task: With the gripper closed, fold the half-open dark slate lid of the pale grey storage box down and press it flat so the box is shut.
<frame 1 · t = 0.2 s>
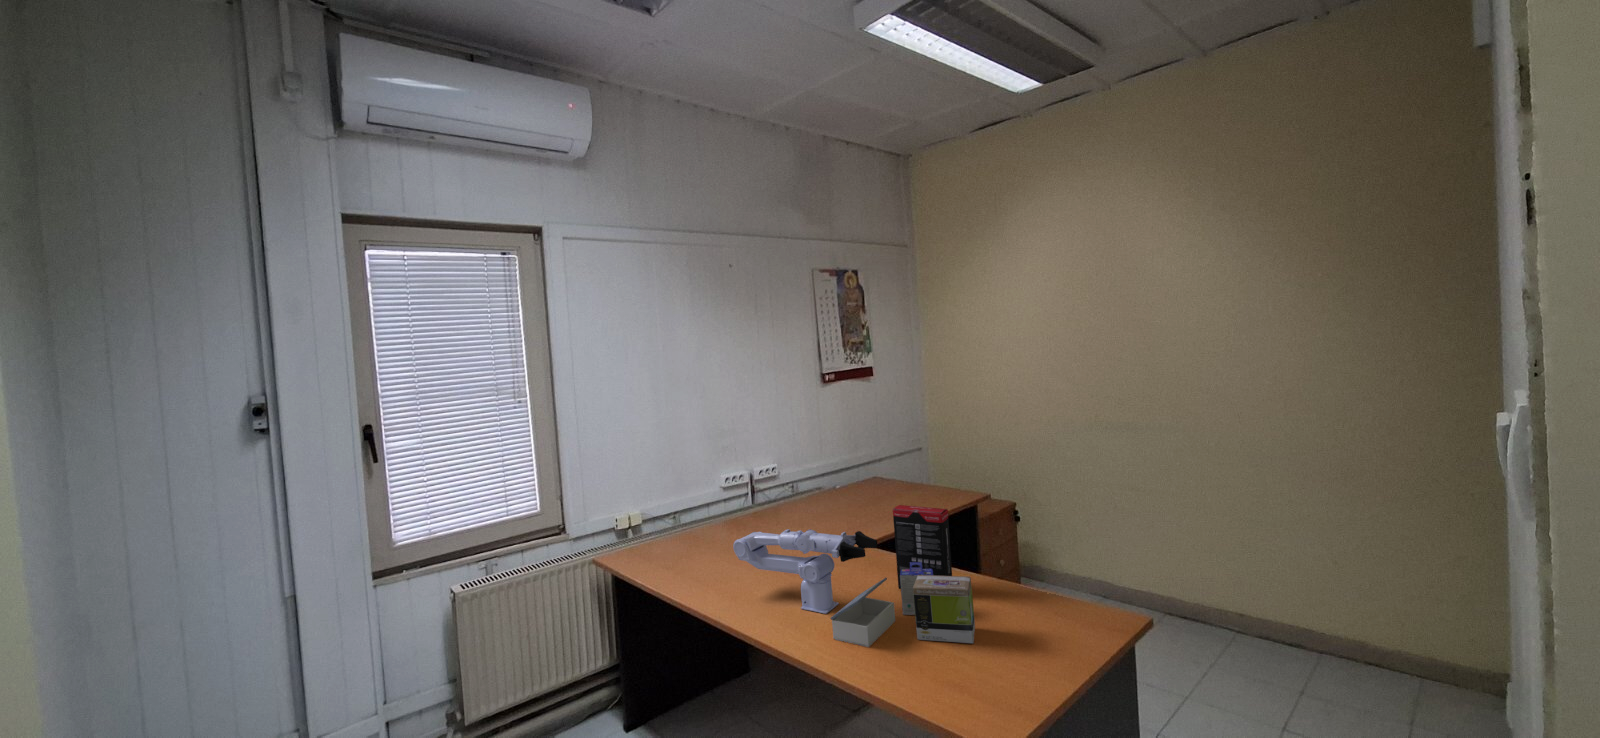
hand: (870, 548, 177), 21 cm above the table, tool horizontal, fingers open, 7 cm apart
graphics card box: (926, 591, 195), on the table
storage box: (865, 629, 172), on the table
tea box: (946, 634, 165), on the table
ink cartridge box: (919, 612, 180), on the table
box lid: (859, 597, 172), point 9 cm above the table, hinge at 35.0°
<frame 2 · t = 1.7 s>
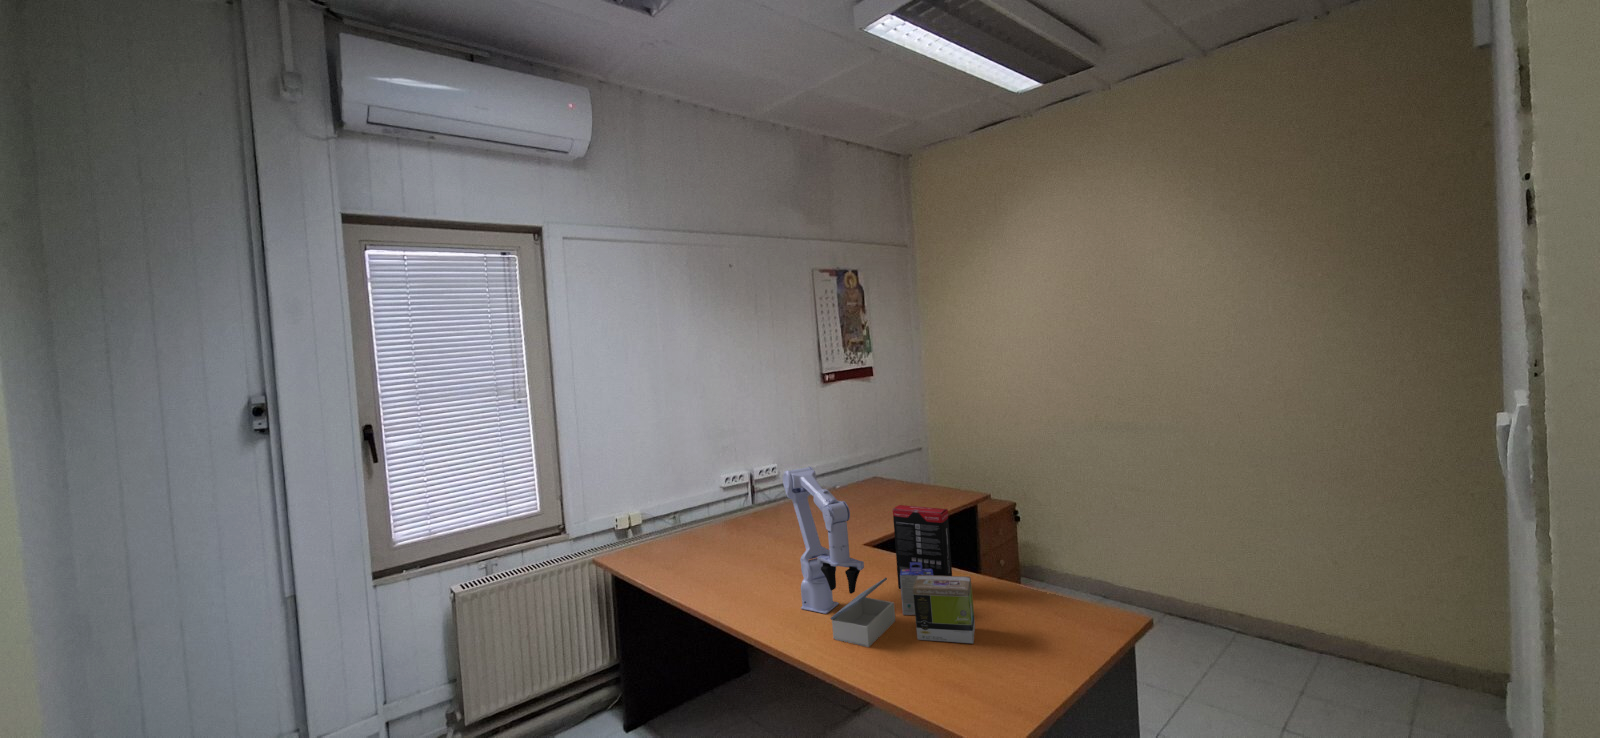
hand: (842, 590, 175), 10 cm above the table, tool pointing down, fingers open, 6 cm apart
nothing on the table moved.
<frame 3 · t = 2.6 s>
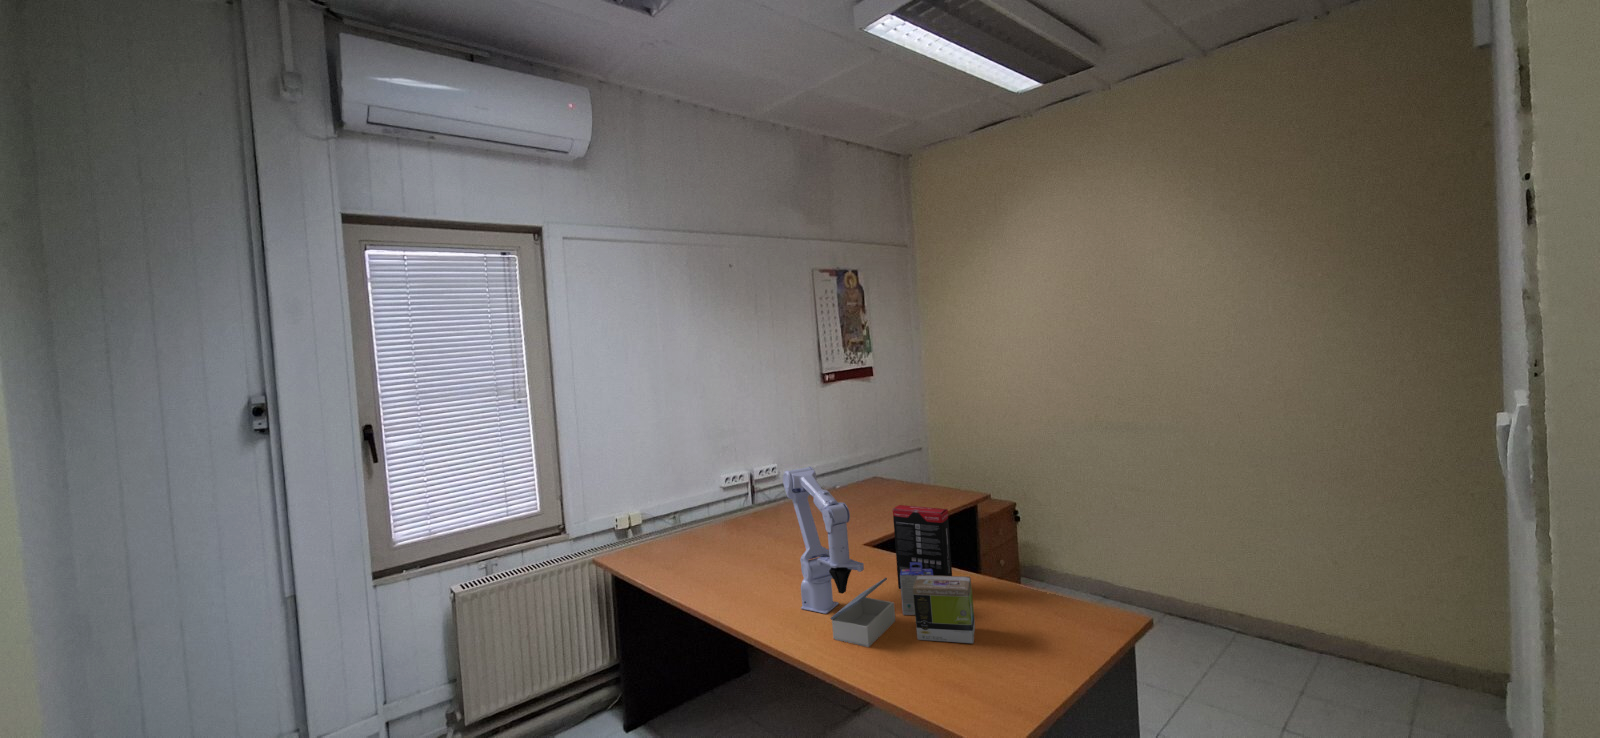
hand: (842, 592, 175), 10 cm above the table, tool pointing down, fingers closed
nothing on the table moved.
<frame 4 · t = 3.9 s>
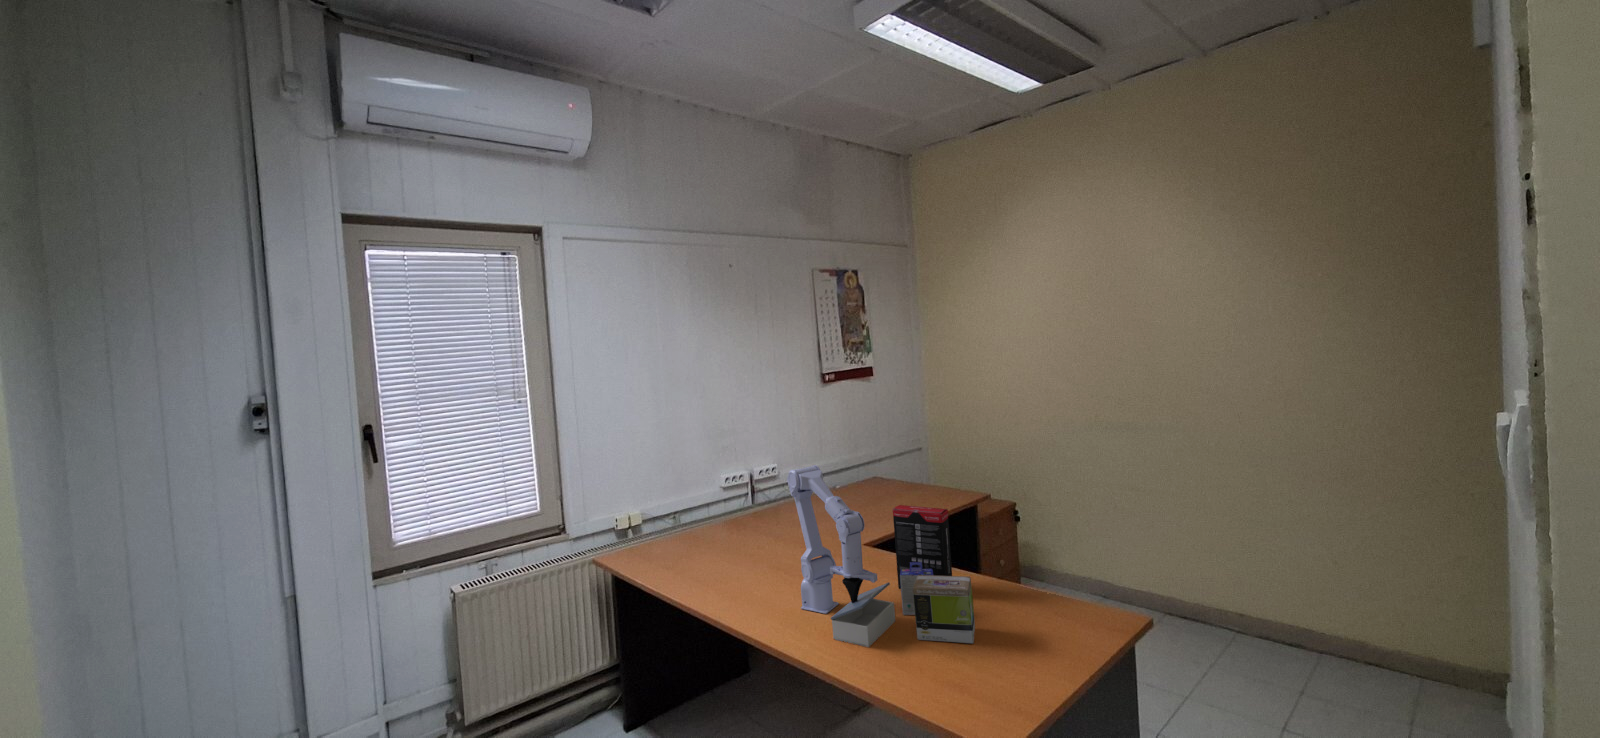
hand: (854, 602, 173), 8 cm above the table, tool pointing down, fingers closed, pressing on box lid
box lid: (860, 600, 172), point 9 cm above the table, hinge at 26.9°, touching gripper
everything else where it was.
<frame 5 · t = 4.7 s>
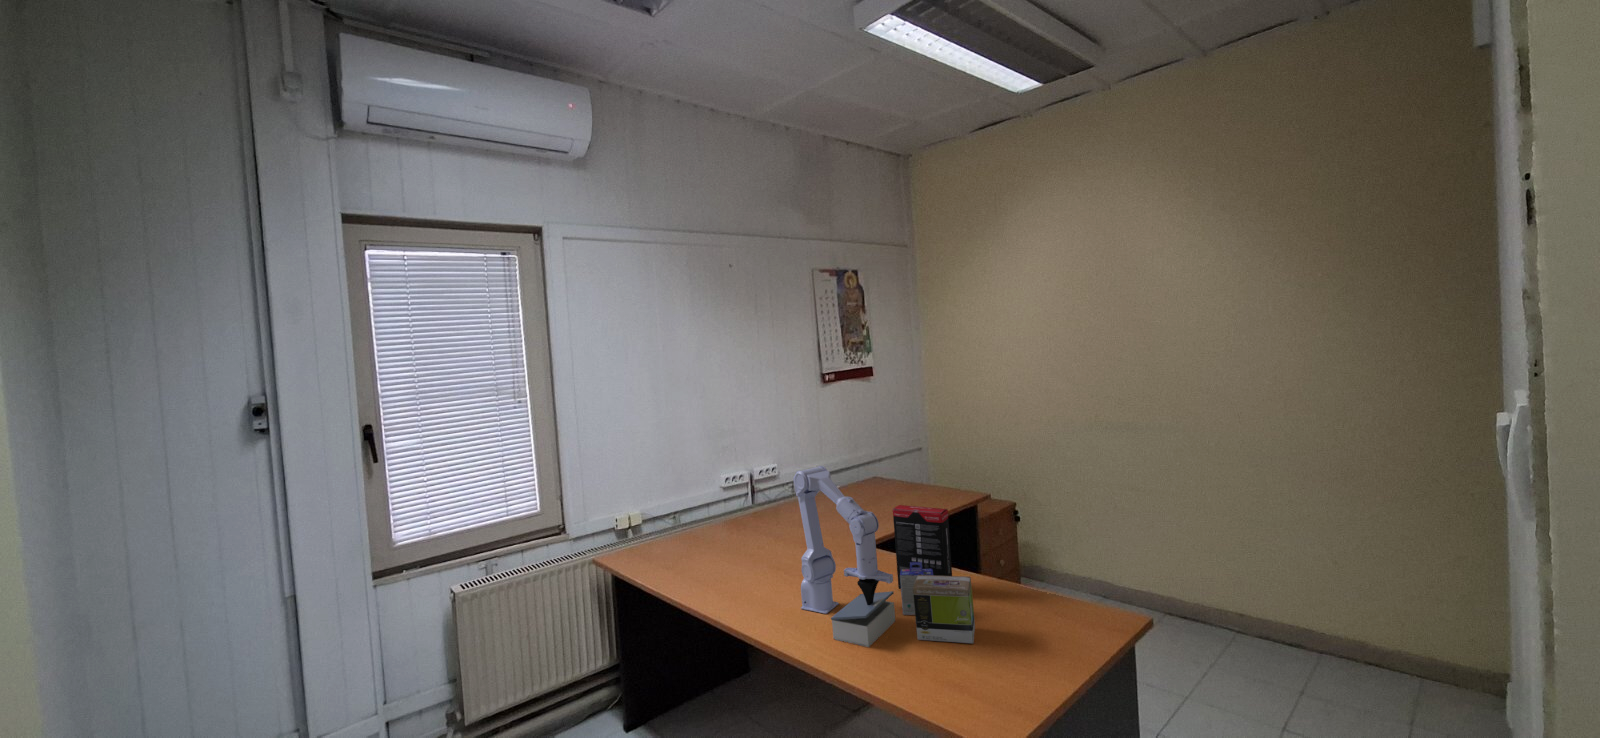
hand: (870, 604, 170), 8 cm above the table, tool pointing down, fingers closed, pressing on box lid
box lid: (862, 604, 171), point 7 cm above the table, hinge at 13.1°, touching gripper
everything else where it was.
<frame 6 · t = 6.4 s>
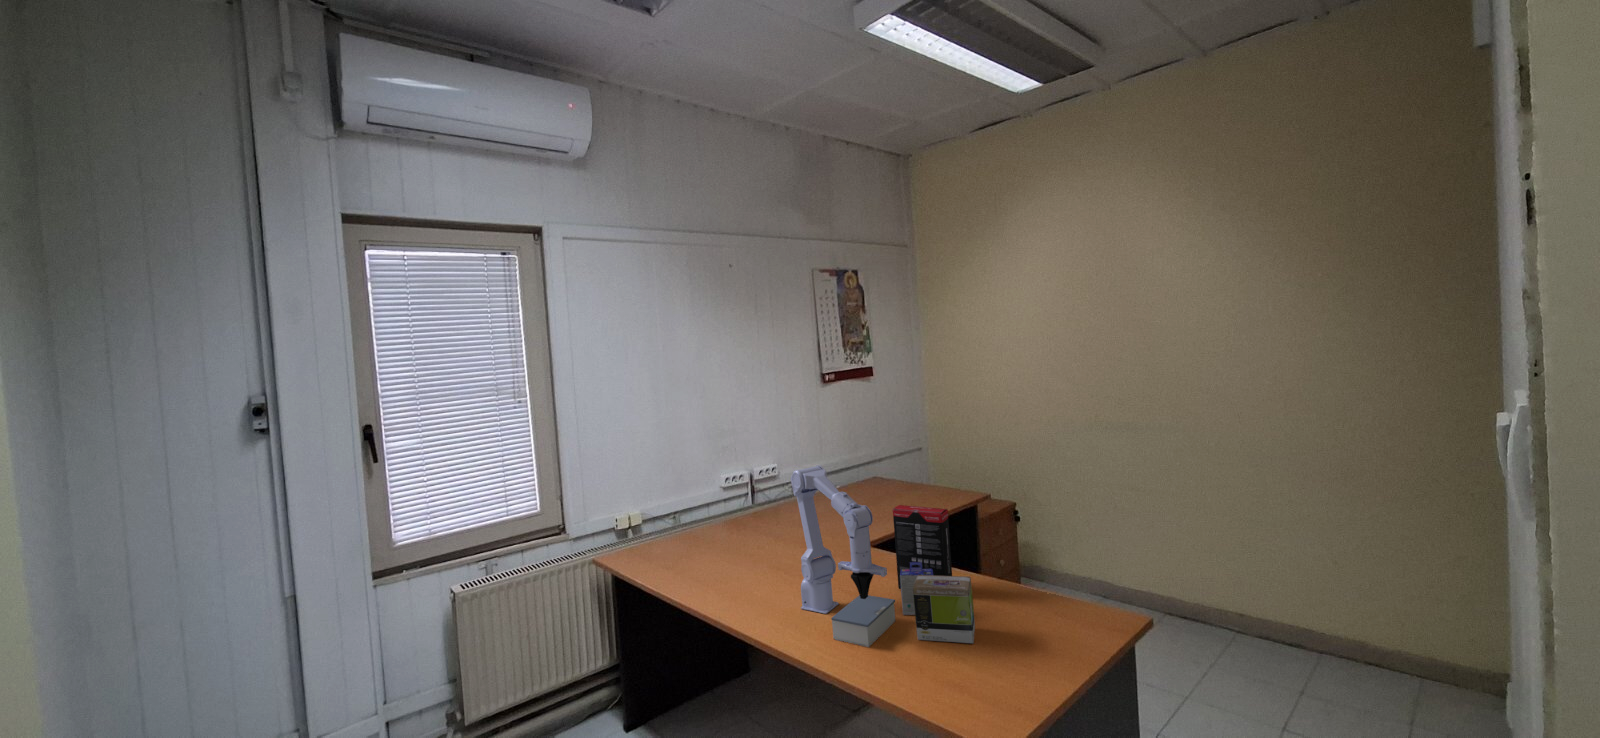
hand: (864, 597, 170), 10 cm above the table, tool pointing down, fingers closed
box lid: (864, 609, 171), point 6 cm above the table, hinge at 0.8°
everything else where it was.
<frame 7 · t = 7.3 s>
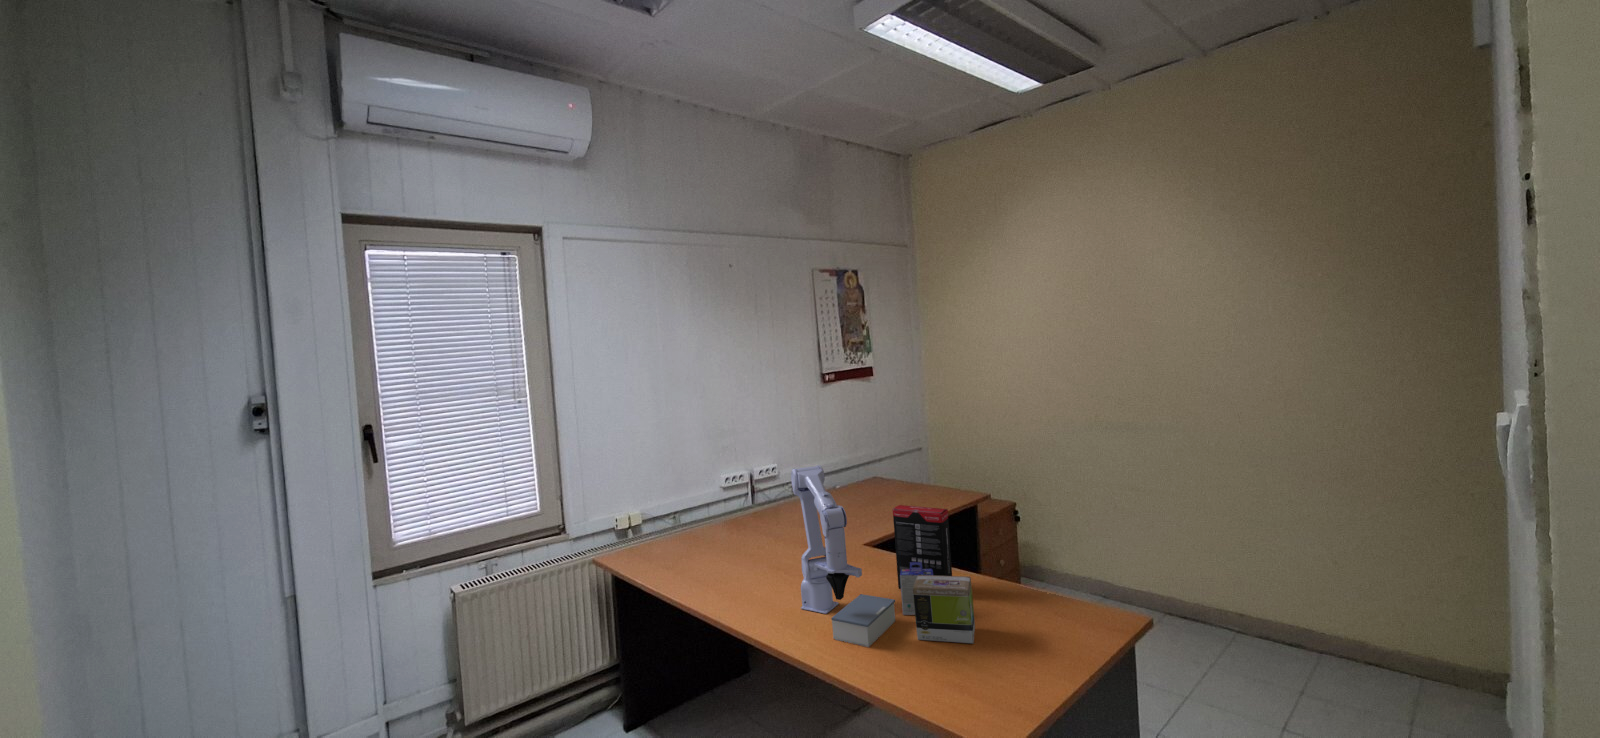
hand: (839, 598, 170), 10 cm above the table, tool pointing down, fingers closed
nothing on the table moved.
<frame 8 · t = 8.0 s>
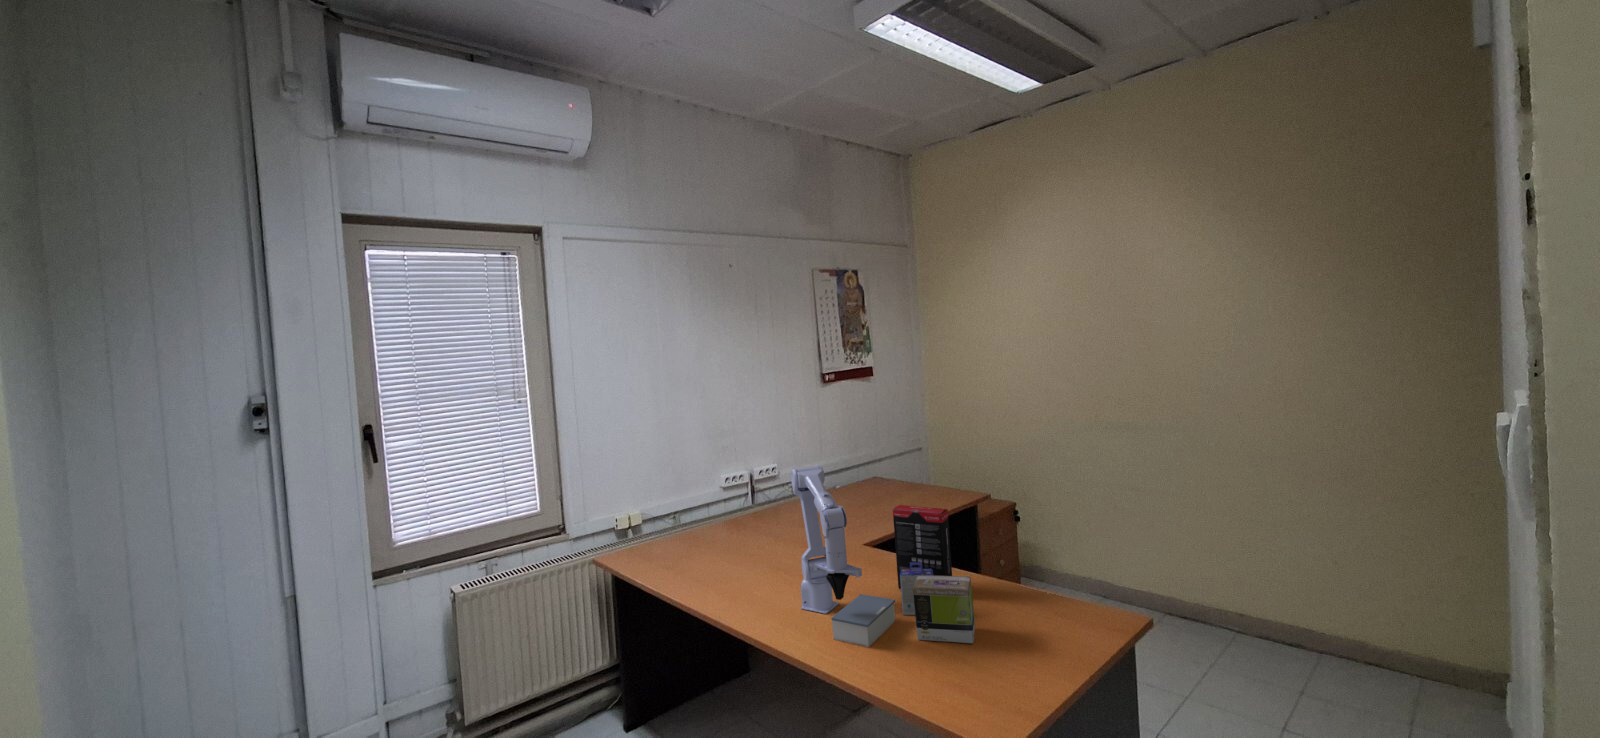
hand: (839, 598, 170), 10 cm above the table, tool pointing down, fingers closed
nothing on the table moved.
at the end: box lid at +1° (first picture: +35°) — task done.
